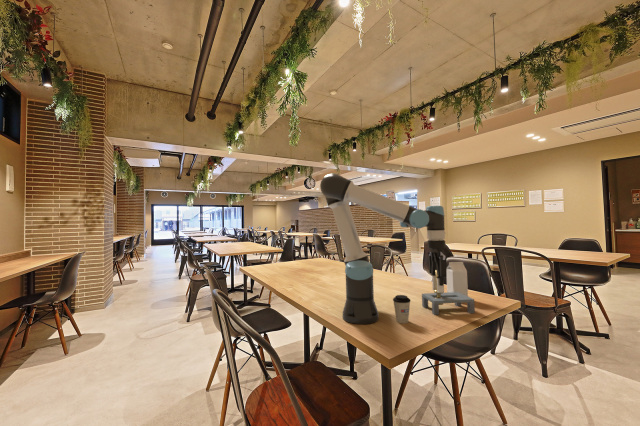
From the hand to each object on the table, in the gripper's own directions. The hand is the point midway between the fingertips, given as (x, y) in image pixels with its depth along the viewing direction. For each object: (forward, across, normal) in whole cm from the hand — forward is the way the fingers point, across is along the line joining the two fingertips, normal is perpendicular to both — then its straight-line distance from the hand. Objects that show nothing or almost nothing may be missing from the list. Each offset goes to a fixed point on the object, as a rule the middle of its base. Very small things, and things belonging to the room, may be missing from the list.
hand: (438, 291), depth 123 cm
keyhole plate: (+9, 0, -4) cm, 9 cm away
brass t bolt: (+6, 0, 0) cm, 6 cm away
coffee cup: (+9, -11, +21) cm, 25 cm away
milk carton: (+9, +14, -17) cm, 24 cm away
